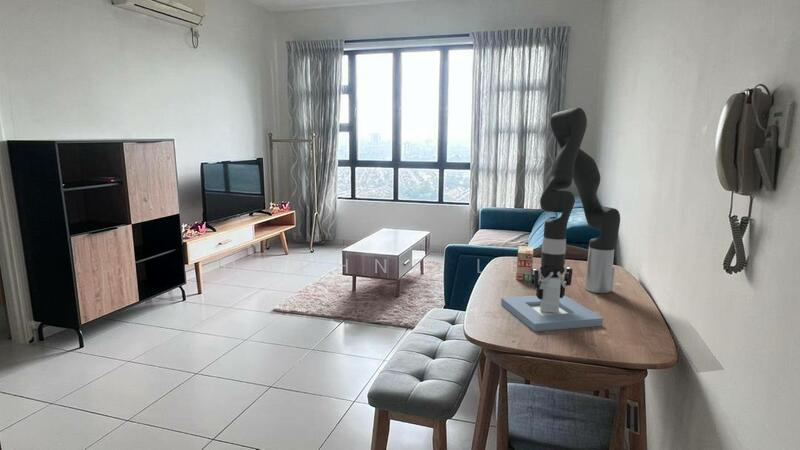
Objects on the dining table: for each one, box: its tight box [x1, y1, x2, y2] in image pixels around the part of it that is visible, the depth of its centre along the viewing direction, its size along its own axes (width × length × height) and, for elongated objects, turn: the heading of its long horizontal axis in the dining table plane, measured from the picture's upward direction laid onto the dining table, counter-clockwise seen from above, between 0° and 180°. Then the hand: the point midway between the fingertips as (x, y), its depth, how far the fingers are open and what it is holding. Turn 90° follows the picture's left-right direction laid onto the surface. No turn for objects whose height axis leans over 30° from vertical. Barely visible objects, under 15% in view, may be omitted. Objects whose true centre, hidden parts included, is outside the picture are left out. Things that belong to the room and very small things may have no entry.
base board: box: [500, 294, 604, 332], centre depth 157 cm, size 24×24×2 cm
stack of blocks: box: [515, 245, 534, 282], centre depth 203 cm, size 21×6×12 cm, turn 164°
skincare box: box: [540, 276, 561, 313], centre depth 156 cm, size 6×4×12 cm
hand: (550, 298), depth 156 cm, fingers closed on skincare box, 7 cm apart
